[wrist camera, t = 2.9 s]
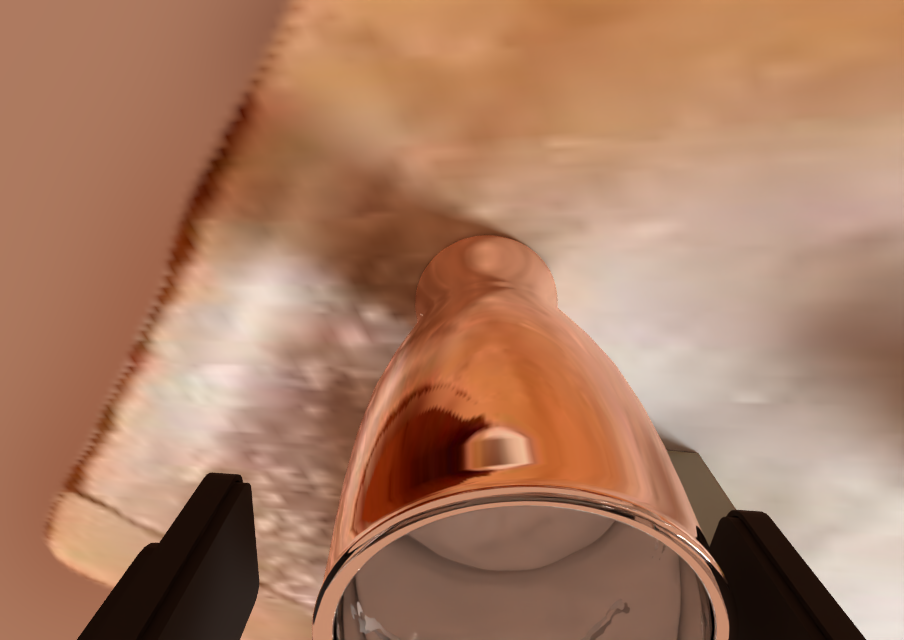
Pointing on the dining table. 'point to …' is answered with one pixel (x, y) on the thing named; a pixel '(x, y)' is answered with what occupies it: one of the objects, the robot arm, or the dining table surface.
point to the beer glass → (512, 482)
